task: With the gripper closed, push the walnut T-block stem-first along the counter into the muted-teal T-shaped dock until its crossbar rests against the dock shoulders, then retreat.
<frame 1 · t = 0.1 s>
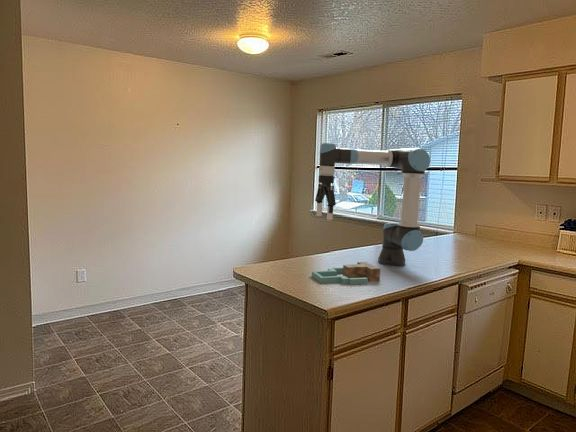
hand: (324, 217, 214), 28 cm above the worktop, fingers open, 13 cm apart
t block: (367, 277, 212), on the worktop
dock: (345, 278, 208), on the worktop
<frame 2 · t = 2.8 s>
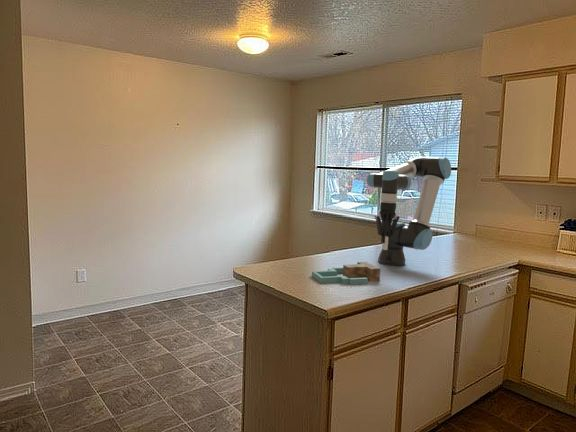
hand: (384, 249, 213), 14 cm above the worktop, fingers closed
nothing on the worktop moved.
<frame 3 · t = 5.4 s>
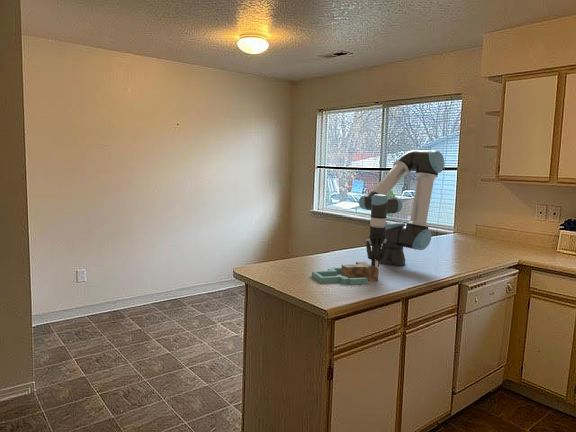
hand: (374, 273, 213), 2 cm above the worktop, fingers closed
t block: (366, 277, 212), on the worktop, touching gripper
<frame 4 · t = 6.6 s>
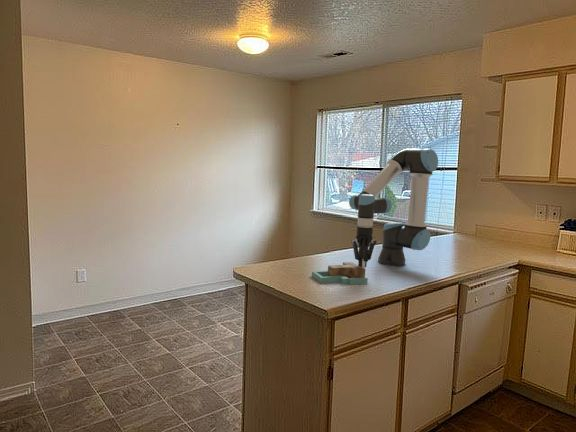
hand: (361, 273, 211), 2 cm above the worktop, fingers closed
t block: (353, 277, 209), on the worktop, touching gripper
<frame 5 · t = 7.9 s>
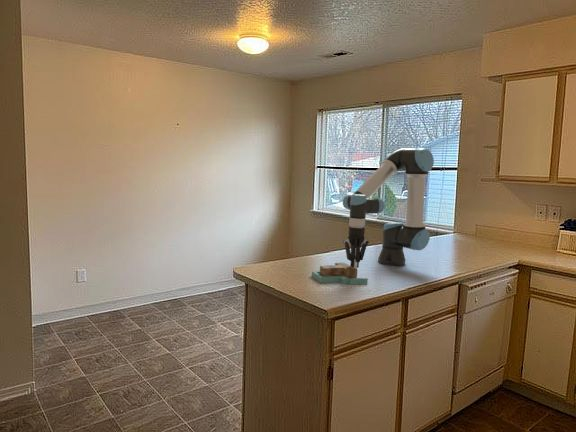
hand: (353, 274, 209), 2 cm above the worktop, fingers closed
t block: (345, 278, 208), on the worktop, touching dock, gripper
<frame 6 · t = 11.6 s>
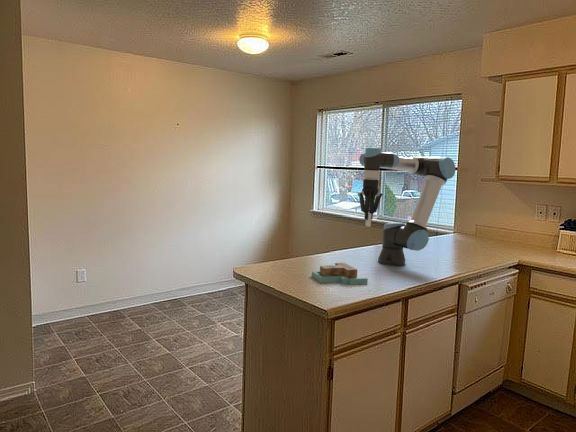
hand: (367, 226, 215), 24 cm above the worktop, fingers closed
t block: (345, 278, 208), on the worktop
at the end: t block 0.6 cm off-centre on the dock, point 0.0 cm above the dock's base; t block tilted 0°; the gripper is holding nothing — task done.
